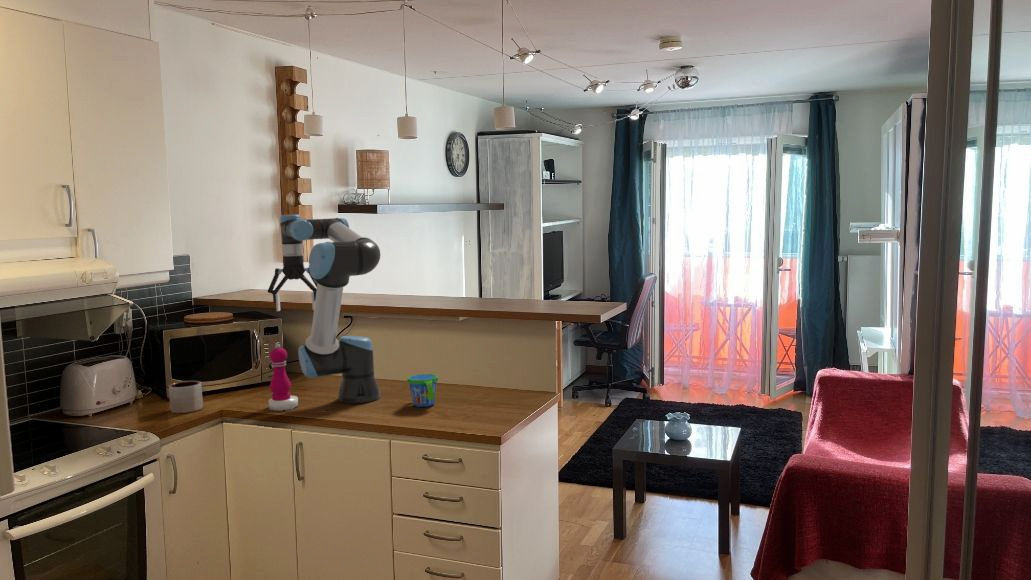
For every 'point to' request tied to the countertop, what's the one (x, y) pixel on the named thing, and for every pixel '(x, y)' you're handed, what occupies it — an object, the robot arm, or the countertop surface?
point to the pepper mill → (279, 375)
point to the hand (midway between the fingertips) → (296, 310)
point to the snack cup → (423, 389)
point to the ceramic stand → (283, 404)
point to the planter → (185, 396)
